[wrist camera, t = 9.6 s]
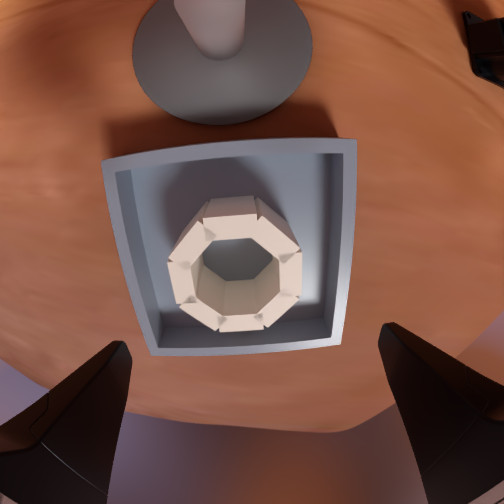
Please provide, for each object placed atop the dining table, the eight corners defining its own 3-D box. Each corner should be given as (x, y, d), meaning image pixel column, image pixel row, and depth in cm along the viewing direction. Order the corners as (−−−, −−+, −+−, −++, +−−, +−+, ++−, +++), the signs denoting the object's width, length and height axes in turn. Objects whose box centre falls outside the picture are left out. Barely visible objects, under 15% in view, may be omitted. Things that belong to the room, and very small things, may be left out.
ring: (289, 193, 17) (302, 210, 14) (290, 309, 21) (299, 345, 17) (176, 202, 17) (159, 222, 14) (196, 315, 21) (189, 352, 17)
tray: (339, 137, 16) (356, 139, 14) (330, 320, 22) (340, 344, 19) (121, 155, 16) (100, 160, 14) (159, 330, 22) (150, 355, 19)
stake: (301, -22, 11) (327, -77, 5) (315, 121, 16) (359, 117, 10) (136, -7, 11) (95, -52, 5) (140, 136, 16) (85, 143, 9)
